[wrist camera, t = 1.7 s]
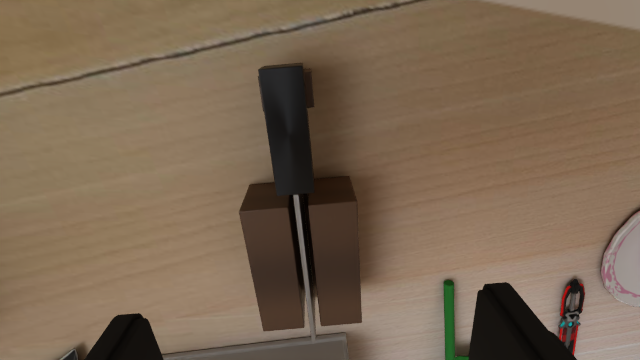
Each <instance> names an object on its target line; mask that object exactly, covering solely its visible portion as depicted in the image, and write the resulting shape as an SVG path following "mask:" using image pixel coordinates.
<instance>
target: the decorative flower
mask: <svg viewBox="0 0 640 360" xmlns="http://www.w3.org/2000/svg"><path fill="white" fill-rule="evenodd" d="M444 318H445V360H469V356H457V357H455V329H454V282H453V281H450V280H446V281H444Z"/></svg>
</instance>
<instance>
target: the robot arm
mask: <svg viewBox="0 0 640 360" xmlns="http://www.w3.org/2000/svg"><path fill="white" fill-rule="evenodd" d="M84 360H163V357H162V354H161V352H160V349H159V347H158V344H157V341H156V339H155V336H154V334H153V331H152V329H151V326H150V323H149V321H148V319H146V318H143V316H142V315H141V314H139V313H138V314H125V315H117V316H116V317H114V318H113V320H112V321H111V322H110V324H109V325H108V327H107V328H106V329H105V331H104V332H103V334H102V335H101V337H100V338H99V339H98V341H97V342H96V344H95V345H94V346H93V348H92V349H91V351H90V352H89V354H88V355H87V356H86V358H85V359H84ZM469 360H577V359H576V358H575V357H574V356H573V354H572V353H571V352H570V351H569V350H568V348H567V347H566V346H565V345H564V344H563V342H562V341H561V340H560V339H559V338H558V337H557V336H556V335H555V334H554V333H552V332H550V331H548V330H547V329H546V327H545V326H544V325H543V324H542V322H541V321H540V320H539V319H538V318H537V316H536V315H535V314H534V313H533V311H532V310H531V309H530V308H529V307H528V305H527V304H526V303H525V302H524V301H523V299H522V298H521V297H520V296H519V294H518V293H517V292H516V291H515V290H514V288H513V287H512V286H511V285H510V284H509V283H507V282H505V283H493V284H485V285H484V287H483V290H479V291H478V294H477V301H476V308H475V315H474V322H473V329H472V336H471V343H470V350H469Z"/></svg>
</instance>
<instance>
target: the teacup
mask: <svg viewBox="0 0 640 360" xmlns="http://www.w3.org/2000/svg"><path fill="white" fill-rule="evenodd" d="M601 275H602V279H603V283H604V287H605V288H606V289H607V290H608V291H609V292H610V293H611V294H612V296H613V297H614V298H615V299H617V300H618V301H620V302H623V303H625V304H628V305H630V306H633V307H640V211H638V212H637V213H635V214H634V215H633V216H632V217H631V218H630V219H629V220H628V221H627V222H626V223H625V224H624V225H623V226H622V227H621V228H620V229H619V231H618V232H617V233H616V234H615V235H614V237H613V239H612V241H611V242H610V244H609V246H608V248H607V249H606V251H605V253H604V257H603V262H602V267H601Z"/></svg>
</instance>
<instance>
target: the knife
mask: <svg viewBox="0 0 640 360" xmlns="http://www.w3.org/2000/svg"><path fill="white" fill-rule="evenodd" d="M60 360H78V354H77V352H76V349H75V348H74V349H73V350H72V351H70V352H69V353H68V354H67V355H65V356H64V357H63V358H62V359H60Z"/></svg>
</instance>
